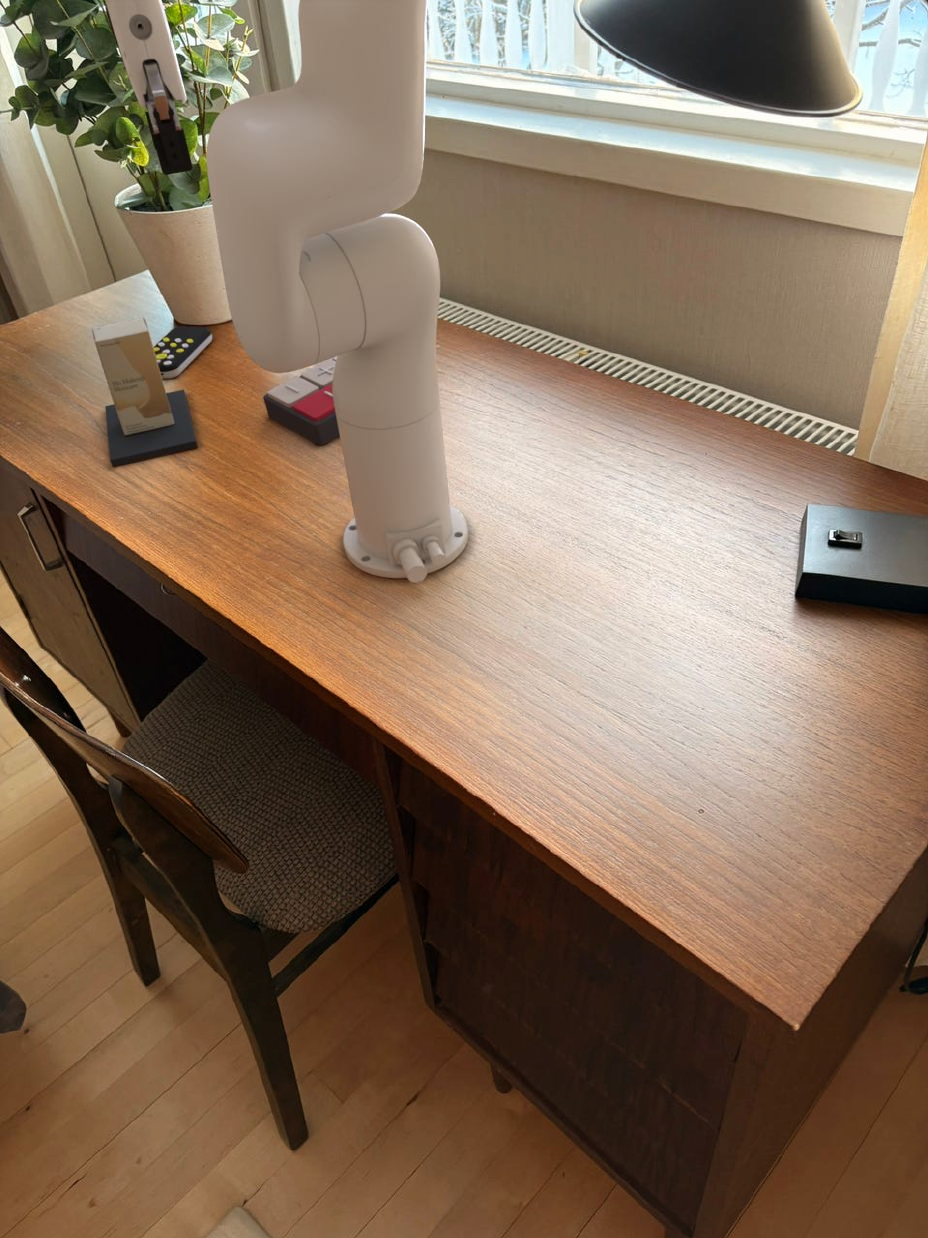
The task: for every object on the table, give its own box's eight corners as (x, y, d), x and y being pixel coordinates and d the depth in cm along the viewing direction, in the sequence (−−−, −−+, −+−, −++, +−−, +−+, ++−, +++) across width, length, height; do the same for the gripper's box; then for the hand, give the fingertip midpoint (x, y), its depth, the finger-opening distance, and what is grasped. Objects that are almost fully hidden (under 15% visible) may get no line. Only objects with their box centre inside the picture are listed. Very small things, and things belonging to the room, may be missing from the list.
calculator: (259, 390, 114) (354, 340, 121) (268, 421, 117) (360, 370, 124) (313, 420, 108) (410, 365, 115) (321, 451, 111) (415, 396, 118)
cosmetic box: (124, 437, 113) (91, 342, 105) (120, 421, 117) (87, 327, 108) (178, 424, 115) (148, 329, 107) (172, 408, 118) (143, 315, 110)
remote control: (216, 338, 135) (213, 325, 134) (175, 380, 126) (171, 366, 125) (178, 336, 136) (174, 323, 135) (134, 378, 127) (130, 364, 126)
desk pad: (198, 447, 112) (195, 440, 112) (112, 467, 110) (110, 459, 110) (185, 395, 122) (183, 389, 122) (107, 412, 121) (105, 405, 120)
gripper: (172, -22, 87) (217, 175, 98) (157, -42, 99) (199, 135, 110) (88, -11, 85) (144, 188, 96) (84, -33, 98) (134, 145, 109)
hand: (173, 159), depth 103 cm, fingers open, 9 cm apart
